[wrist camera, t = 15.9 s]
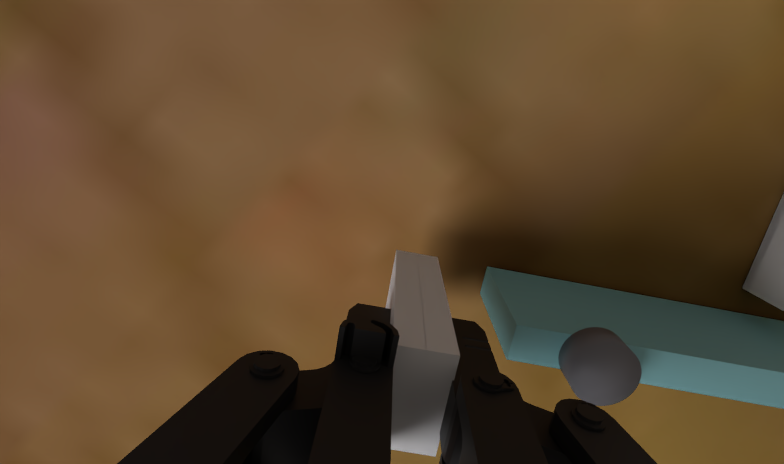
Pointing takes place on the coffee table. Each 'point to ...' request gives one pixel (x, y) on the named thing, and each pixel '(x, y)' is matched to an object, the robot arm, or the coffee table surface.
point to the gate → (634, 340)
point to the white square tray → (769, 263)
